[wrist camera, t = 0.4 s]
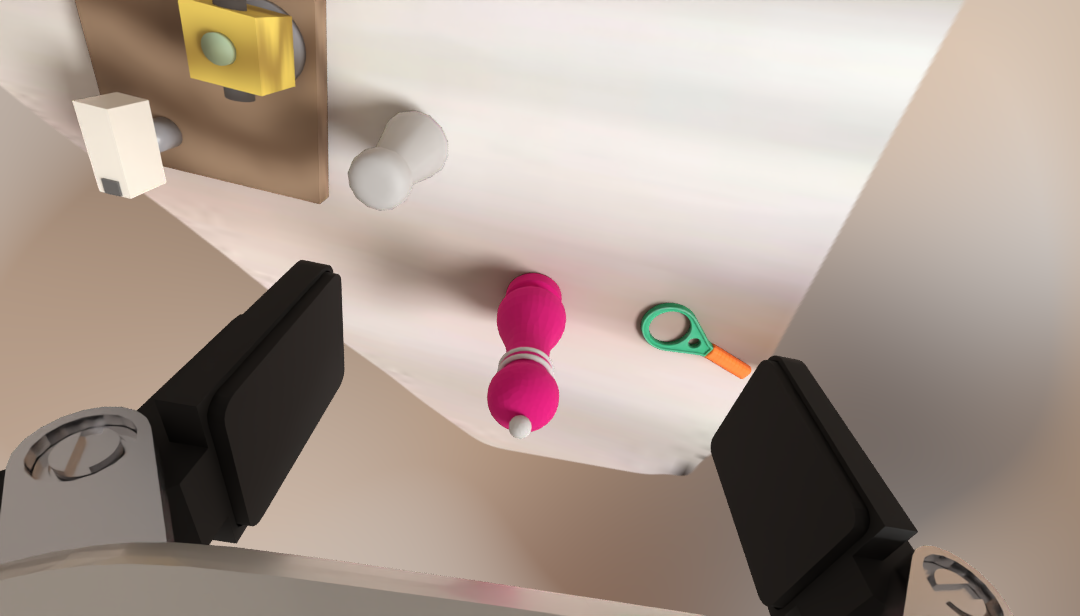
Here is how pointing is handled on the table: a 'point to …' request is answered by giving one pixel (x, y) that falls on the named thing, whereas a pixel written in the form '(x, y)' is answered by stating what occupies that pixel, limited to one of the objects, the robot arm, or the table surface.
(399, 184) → the salt shaker
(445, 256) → the table surface
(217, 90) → the level base
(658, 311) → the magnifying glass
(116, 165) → the knob
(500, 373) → the pepper mill
